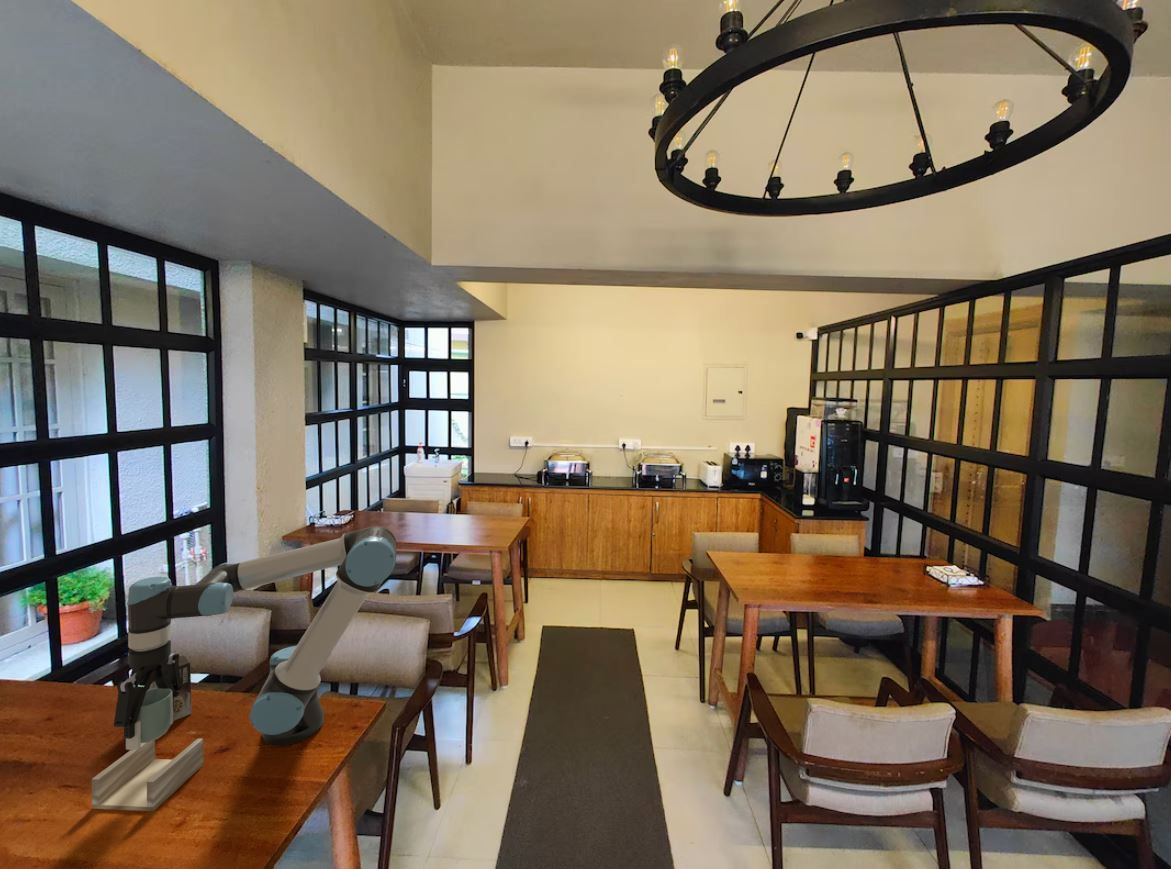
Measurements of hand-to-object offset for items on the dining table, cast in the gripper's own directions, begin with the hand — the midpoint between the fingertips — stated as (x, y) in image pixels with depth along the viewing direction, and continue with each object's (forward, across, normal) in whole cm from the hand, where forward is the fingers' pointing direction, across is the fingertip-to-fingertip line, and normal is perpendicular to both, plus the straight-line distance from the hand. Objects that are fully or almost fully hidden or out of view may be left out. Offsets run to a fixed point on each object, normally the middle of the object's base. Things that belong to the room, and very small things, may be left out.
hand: (150, 735), depth 113 cm
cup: (+1, 0, 0) cm, 1 cm away
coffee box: (+13, -24, -17) cm, 32 cm away
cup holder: (+13, 0, 0) cm, 13 cm away
